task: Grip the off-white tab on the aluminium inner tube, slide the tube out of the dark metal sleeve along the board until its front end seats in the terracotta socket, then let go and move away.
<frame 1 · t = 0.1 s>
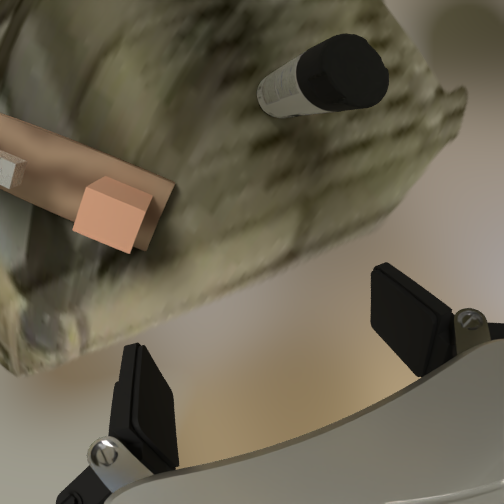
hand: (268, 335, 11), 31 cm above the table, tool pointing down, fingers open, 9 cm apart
socket: (120, 199, 37), resting on base board
base board: (18, 156, 30), on the table
spray can: (278, 95, 37), on the table
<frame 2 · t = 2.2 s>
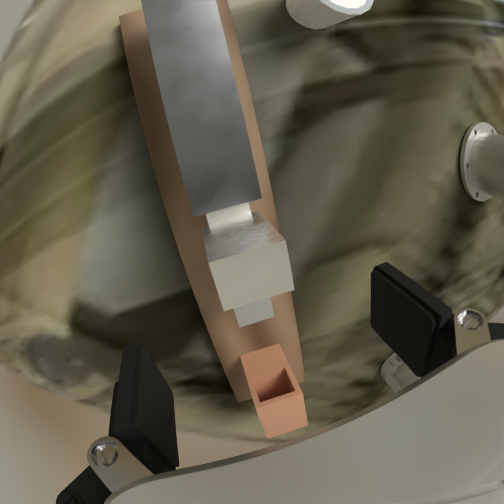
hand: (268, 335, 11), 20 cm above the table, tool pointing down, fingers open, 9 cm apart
outer sleeve: (191, 94, 24), resting on base board
socket: (261, 358, 37), resting on base board
base board: (226, 231, 30), on the table
spray can: (394, 361, 45), on the table
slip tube: (216, 155, 17), point 11 cm above the table, slide at 0.0 cm
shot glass: (310, 8, 23), on the table
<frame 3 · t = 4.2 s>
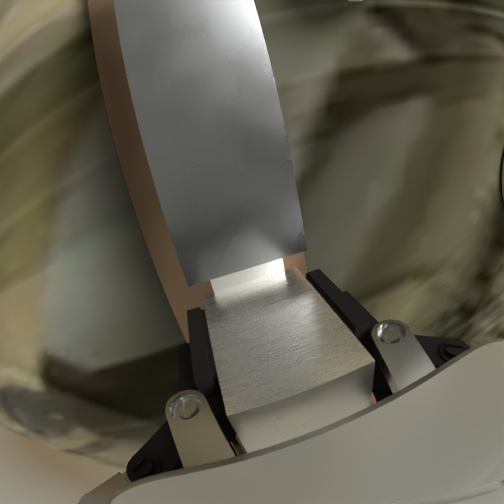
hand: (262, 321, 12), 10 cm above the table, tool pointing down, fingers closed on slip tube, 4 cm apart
outer sleeve: (183, 77, 16), resting on base board
base board: (233, 271, 22), on the table
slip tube: (228, 177, 9), point 10 cm above the table, slide at 0.0 cm, touching gripper
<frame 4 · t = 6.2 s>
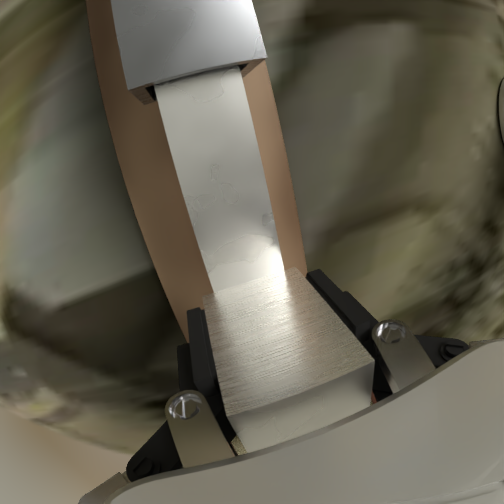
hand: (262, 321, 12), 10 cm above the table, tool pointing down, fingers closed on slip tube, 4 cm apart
base board: (207, 176, 19), on the table
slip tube: (227, 177, 9), point 11 cm above the table, slide at 7.2 cm, touching gripper
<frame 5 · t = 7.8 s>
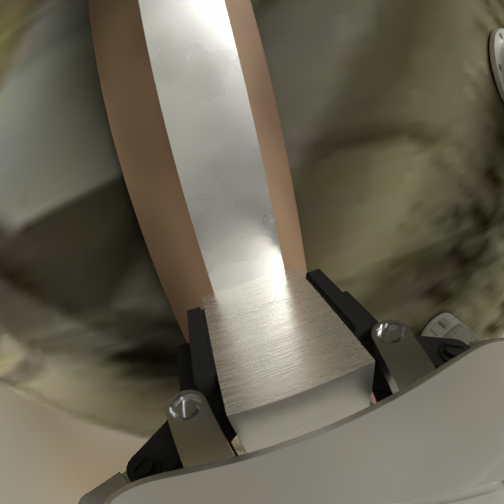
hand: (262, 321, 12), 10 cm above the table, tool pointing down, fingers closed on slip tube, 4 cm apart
base board: (184, 78, 16), on the table
spray can: (432, 331, 32), on the table
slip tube: (228, 177, 9), point 10 cm above the table, slide at 13.9 cm, touching gripper
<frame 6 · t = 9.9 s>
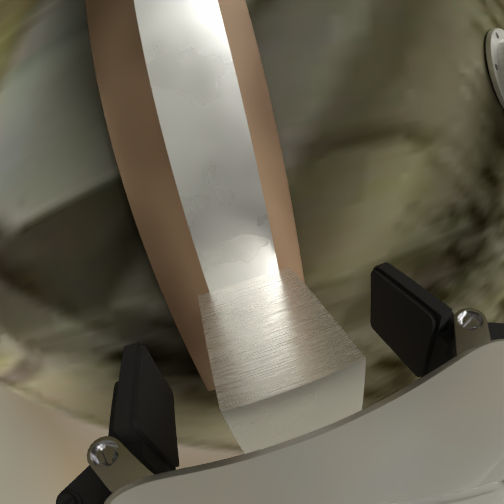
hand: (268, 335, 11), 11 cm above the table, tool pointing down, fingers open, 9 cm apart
base board: (180, 80, 16), on the table
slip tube: (222, 179, 9), point 11 cm above the table, slide at 14.0 cm
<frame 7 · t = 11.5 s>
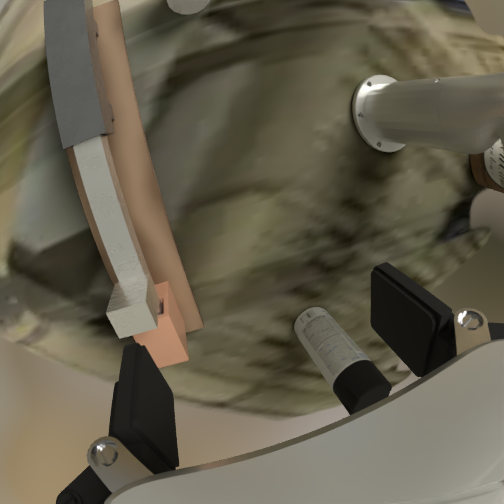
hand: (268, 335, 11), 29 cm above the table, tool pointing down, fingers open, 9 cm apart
outer sleeve: (92, 76, 28), resting on base board
wooden container: (483, 154, 49), on the table
socket: (158, 299, 41), resting on base board
base board: (115, 177, 34), on the table
spray can: (310, 321, 50), on the table
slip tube: (114, 244, 26), point 10 cm above the table, slide at 14.0 cm
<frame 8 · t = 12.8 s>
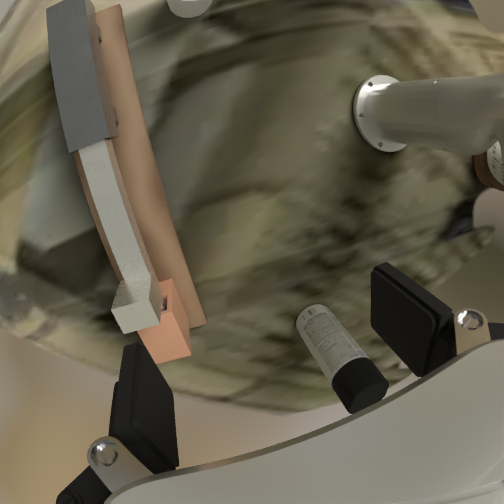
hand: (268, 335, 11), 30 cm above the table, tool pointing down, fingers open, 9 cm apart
outer sleeve: (96, 80, 29), resting on base board
wooden container: (487, 153, 48), on the table
socket: (163, 295, 42), resting on base board
base board: (120, 178, 35), on the table
spray can: (311, 318, 51), on the table
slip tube: (119, 244, 28), point 10 cm above the table, slide at 14.0 cm
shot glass: (189, 2, 28), on the table
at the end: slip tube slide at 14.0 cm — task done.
